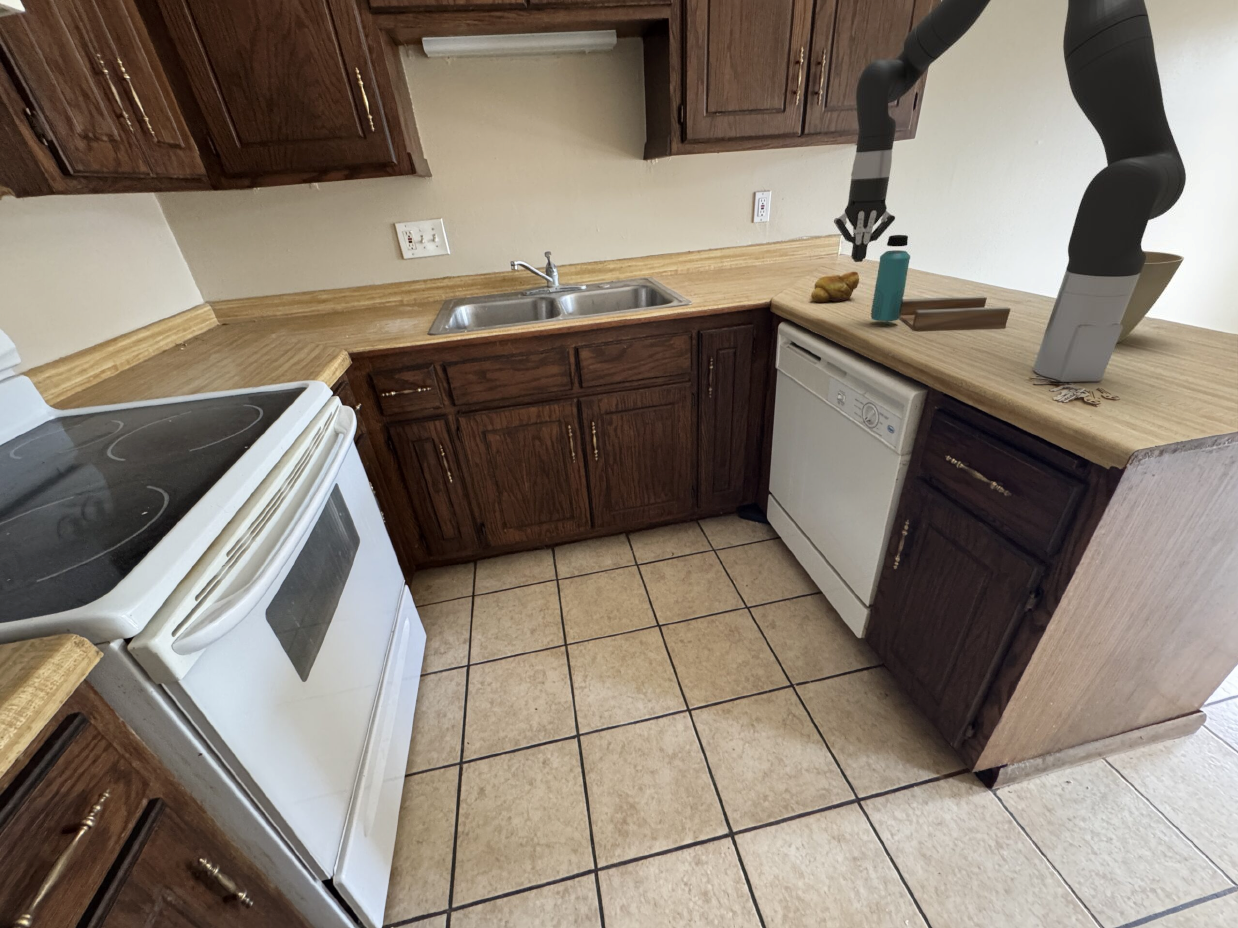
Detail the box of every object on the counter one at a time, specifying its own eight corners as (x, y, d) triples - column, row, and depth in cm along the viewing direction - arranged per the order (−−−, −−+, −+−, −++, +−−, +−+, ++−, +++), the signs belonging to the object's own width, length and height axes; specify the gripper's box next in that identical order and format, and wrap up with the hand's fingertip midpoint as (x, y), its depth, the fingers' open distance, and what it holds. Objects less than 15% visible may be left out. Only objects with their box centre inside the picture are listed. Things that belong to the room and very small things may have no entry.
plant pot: (1063, 325, 116) (1090, 248, 108) (1153, 336, 106) (1190, 252, 98) (1042, 340, 108) (1070, 259, 100) (1138, 354, 98) (1176, 265, 90)
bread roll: (818, 306, 147) (821, 276, 143) (801, 299, 155) (804, 271, 151) (859, 301, 148) (864, 271, 145) (840, 294, 157) (844, 266, 153)
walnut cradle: (1005, 328, 117) (1010, 308, 115) (914, 330, 120) (918, 312, 118) (978, 314, 128) (983, 296, 126) (896, 316, 131) (899, 299, 129)
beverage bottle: (901, 327, 123) (919, 236, 113) (871, 328, 124) (886, 237, 114) (894, 320, 128) (911, 232, 119) (865, 321, 130) (879, 234, 120)
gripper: (842, 178, 109) (831, 265, 118) (909, 173, 108) (893, 262, 116) (833, 178, 116) (824, 260, 124) (897, 173, 114) (883, 257, 122)
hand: (857, 261), depth 120 cm, fingers closed
